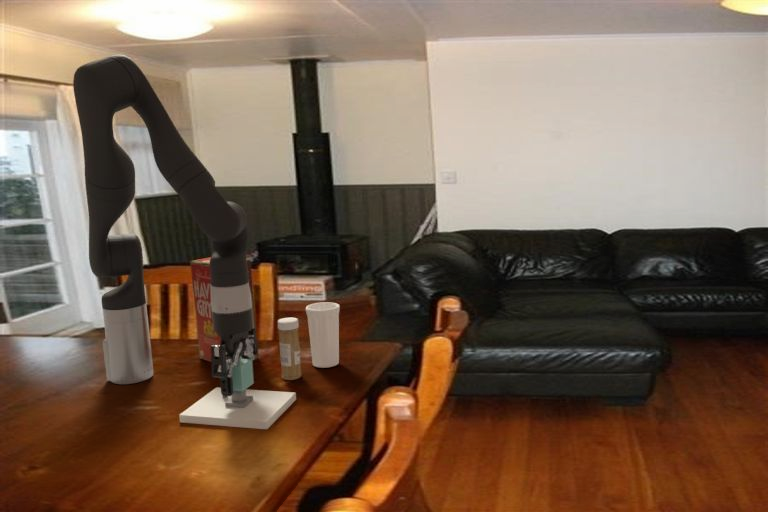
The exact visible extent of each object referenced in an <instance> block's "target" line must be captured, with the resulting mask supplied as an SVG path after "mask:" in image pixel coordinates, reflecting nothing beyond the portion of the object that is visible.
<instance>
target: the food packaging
mask: <svg viewBox="0 0 768 512" xmlns="http://www.w3.org/2000/svg"><path fill="white" fill-rule="evenodd" d="M211 257H212V256H210V257H205V258H201V259H200V258H199V259H198V258H197V259H195V260H190V262H189V265H190V272H191V283H192V292H193V301H194V303H193V304H194V310H195V318H196V319H195V320H196V328H197V330H196V331H197V340H198V352H199V359H201V360H205V361H207V362H210V363H211V346H212V345H220V336H219V335H218V334H216V333H215V332H214V330H213V318H212V307H211V279H210V259H211ZM246 259H247V258H246ZM247 267H248V268H247V269H248V279H249V287H250V292H251V302H252V315H253V327H255V328H256V329H257V326H256V325H257V324H256V314H255V303H254V287H253V274H252V262H251V260H250V259H247ZM250 345H251V347H252V349H253V345H252V344H250ZM257 359H259V353H258V354H257V355H254V360H253V361H256V360H257ZM226 360H228V359H227V358H226Z"/></svg>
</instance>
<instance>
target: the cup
mask: <svg viewBox="0 0 768 512" xmlns="http://www.w3.org/2000/svg"><path fill="white" fill-rule="evenodd" d="M340 306H341V305H340V304H338V303H336V302H330V301H329V302H328V301H326V302H325V301H323V302H322V301H321V302H315V303H314V302H313V303H311V304H308V305H306V307H305V313H306V316H307V317H306V318H307V324H308V325H307V327H308V333H309V334H308V335H309V342H310V353H311V362H312V366H314V367H316V368H321V369H324V368H331V367H332V368H333V367H336V366H337V365H339V362H340V344H339V343H340V339H339V338H340V336H339V335H340V332H339V331H340V328H339V327H340V322H339V320H340V319H339V318H340V316H339V315H340V308H341V307H340Z"/></svg>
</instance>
